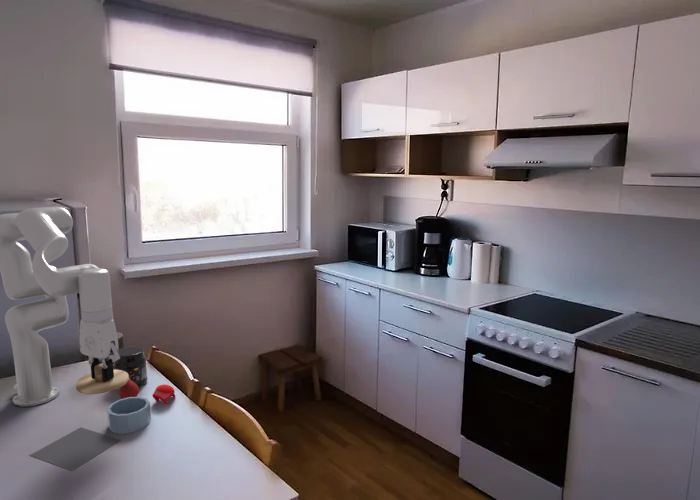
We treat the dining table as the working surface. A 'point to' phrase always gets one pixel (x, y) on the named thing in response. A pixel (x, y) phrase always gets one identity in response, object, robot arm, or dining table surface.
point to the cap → (163, 393)
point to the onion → (129, 390)
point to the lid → (101, 382)
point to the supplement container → (132, 364)
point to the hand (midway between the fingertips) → (102, 377)
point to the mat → (75, 448)
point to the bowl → (129, 414)
